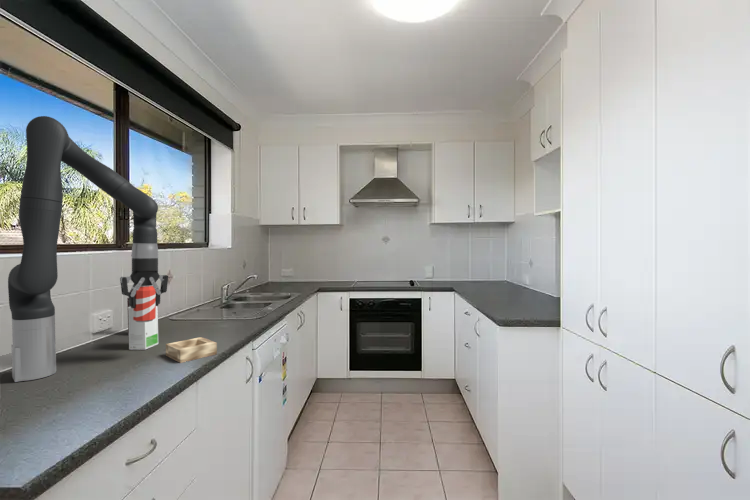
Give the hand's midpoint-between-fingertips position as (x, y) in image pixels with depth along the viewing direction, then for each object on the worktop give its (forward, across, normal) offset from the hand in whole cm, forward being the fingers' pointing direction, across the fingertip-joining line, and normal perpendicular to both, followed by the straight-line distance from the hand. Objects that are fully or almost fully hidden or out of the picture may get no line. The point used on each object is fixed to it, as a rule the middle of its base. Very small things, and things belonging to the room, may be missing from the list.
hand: (144, 306), depth 124 cm
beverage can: (+5, 0, 0) cm, 5 cm away
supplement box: (+17, +10, +37) cm, 42 cm away
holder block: (+17, +12, -9) cm, 22 cm away
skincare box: (+17, +4, +15) cm, 24 cm away
